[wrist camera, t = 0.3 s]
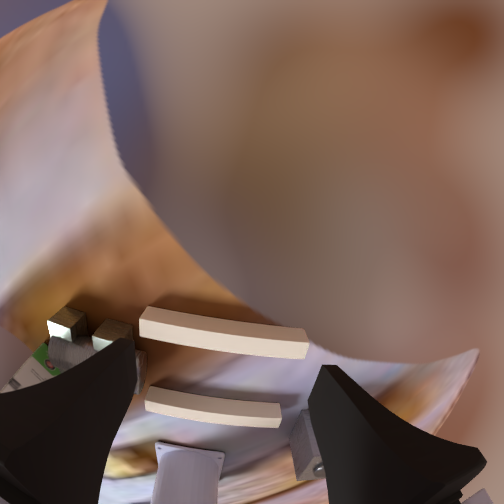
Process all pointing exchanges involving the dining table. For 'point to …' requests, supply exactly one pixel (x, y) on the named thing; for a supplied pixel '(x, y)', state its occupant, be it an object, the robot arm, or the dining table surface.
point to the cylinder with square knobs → (87, 341)
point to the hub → (305, 450)
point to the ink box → (33, 371)
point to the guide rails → (221, 339)
